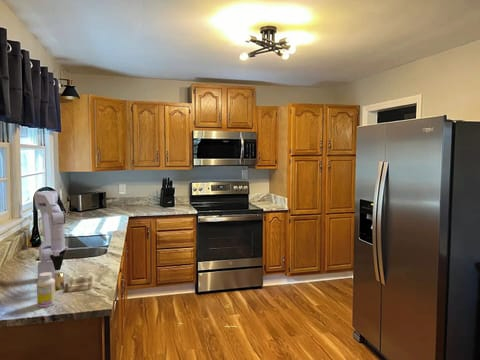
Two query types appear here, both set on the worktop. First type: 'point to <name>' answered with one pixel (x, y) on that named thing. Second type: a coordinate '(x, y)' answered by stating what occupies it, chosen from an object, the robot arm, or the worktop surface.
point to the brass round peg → (59, 281)
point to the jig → (80, 283)
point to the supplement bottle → (46, 290)
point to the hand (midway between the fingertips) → (58, 267)
